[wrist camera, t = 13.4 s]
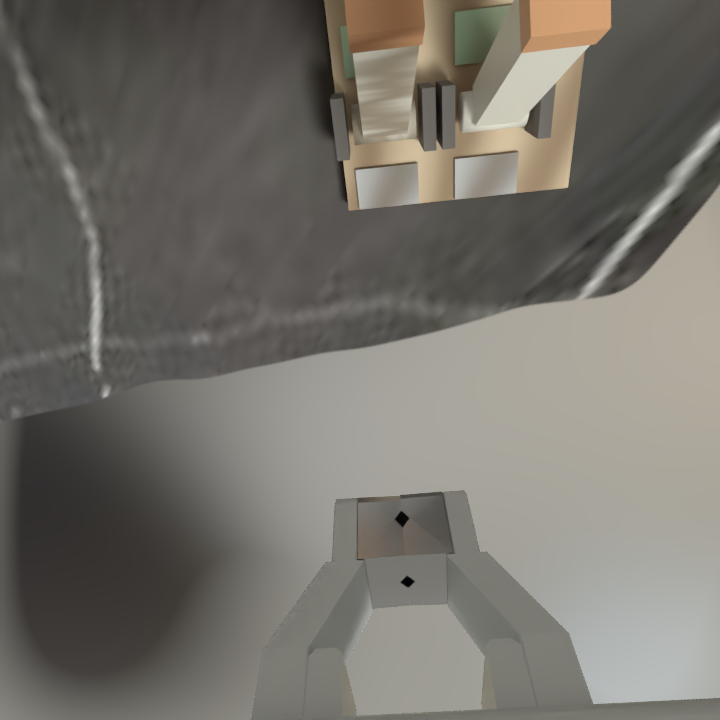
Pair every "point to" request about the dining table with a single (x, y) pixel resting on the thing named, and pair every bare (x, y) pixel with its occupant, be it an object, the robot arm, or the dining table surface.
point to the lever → (530, 59)
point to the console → (434, 106)
